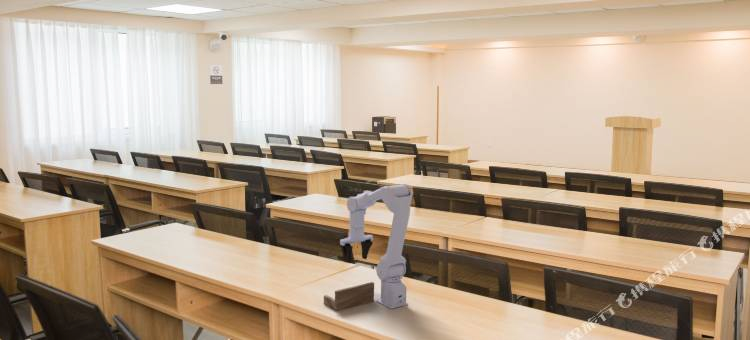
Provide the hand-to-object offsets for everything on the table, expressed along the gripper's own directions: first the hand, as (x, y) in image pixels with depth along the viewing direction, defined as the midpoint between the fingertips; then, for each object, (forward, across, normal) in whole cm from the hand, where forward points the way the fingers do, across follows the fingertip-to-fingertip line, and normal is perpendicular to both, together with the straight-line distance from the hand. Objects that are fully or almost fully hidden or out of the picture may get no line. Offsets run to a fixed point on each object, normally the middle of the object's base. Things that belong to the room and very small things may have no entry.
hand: (356, 260), depth 232 cm
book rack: (+10, +12, +13) cm, 21 cm away
